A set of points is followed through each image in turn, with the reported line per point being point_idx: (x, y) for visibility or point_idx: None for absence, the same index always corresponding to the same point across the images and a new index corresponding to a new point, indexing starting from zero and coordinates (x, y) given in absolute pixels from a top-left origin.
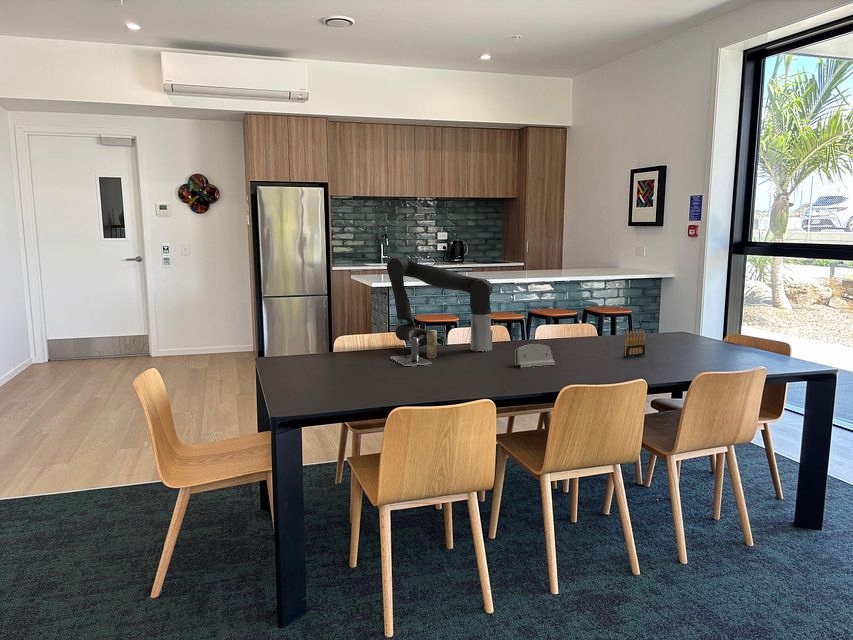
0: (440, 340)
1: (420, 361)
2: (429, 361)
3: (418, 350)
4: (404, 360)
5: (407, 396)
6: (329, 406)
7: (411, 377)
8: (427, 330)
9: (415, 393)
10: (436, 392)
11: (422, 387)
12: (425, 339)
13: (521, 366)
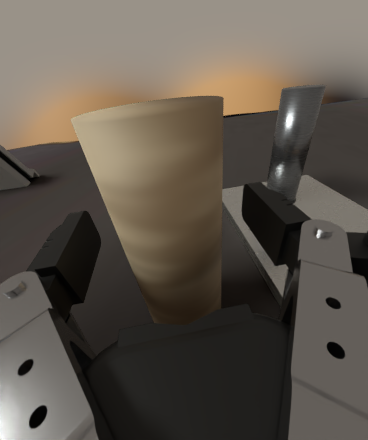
0: (85, 231)
1: None
2: (222, 198)
3: (272, 152)
4: (335, 213)
5: (263, 118)
6: (339, 105)
7: (268, 143)
8: (208, 103)
9: (254, 121)
10: (230, 123)
11: (246, 127)
12: (230, 320)
13: (36, 172)
